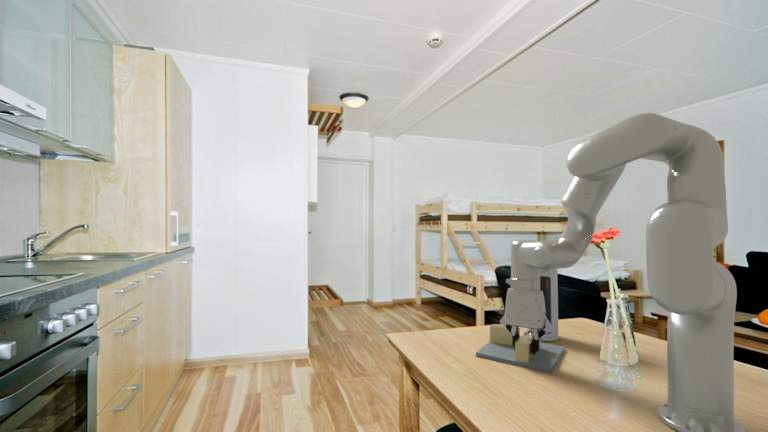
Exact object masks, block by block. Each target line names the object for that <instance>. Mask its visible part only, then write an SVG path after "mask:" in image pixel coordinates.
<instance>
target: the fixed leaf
mask: <svg viewBox="0 0 768 432" xmlns="http://www.w3.org/2000/svg"><path fill="white" fill-rule="evenodd" d="M520 329H521V327H519V328H518V334H519V335H520V336H521V333H520ZM530 333H533V331H532V329H530ZM489 341H490V343H494V344H499V345H504V346H509V347H514V346H513V345H512V335H511V333H510V332H509V331H508V329H507V328H506V327H505V326H504V325H502V324H497V323H492V325H490V326H489ZM541 343H542V341H541V342H540V343H539V350H540V349H541ZM537 352H539V351H537Z"/></svg>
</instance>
